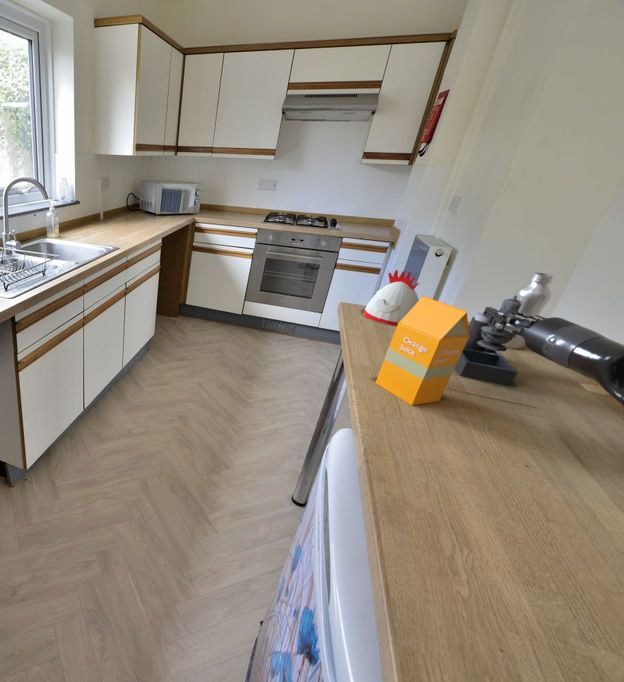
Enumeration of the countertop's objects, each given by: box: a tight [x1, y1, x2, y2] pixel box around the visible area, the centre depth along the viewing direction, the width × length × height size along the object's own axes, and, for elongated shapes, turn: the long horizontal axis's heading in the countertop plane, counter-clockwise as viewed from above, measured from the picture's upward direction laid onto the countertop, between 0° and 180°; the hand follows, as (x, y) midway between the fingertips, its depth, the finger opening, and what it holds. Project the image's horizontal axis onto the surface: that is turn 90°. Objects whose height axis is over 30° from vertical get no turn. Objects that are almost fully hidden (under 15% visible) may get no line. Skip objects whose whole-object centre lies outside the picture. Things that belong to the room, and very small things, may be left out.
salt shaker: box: [476, 295, 521, 352], centre depth 89 cm, size 6×6×12 cm
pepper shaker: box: [464, 312, 489, 352], centre depth 99 cm, size 5×5×11 cm
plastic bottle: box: [502, 272, 554, 350], centre depth 106 cm, size 6×7×20 cm
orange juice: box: [375, 295, 469, 406], centre depth 82 cm, size 8×9×20 cm
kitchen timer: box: [363, 269, 420, 327], centre depth 122 cm, size 14×14×15 cm
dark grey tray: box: [454, 348, 519, 387], centre depth 98 cm, size 9×17×4 cm, turn 156°
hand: (496, 311), depth 91 cm, fingers closed on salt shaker, 3 cm apart
